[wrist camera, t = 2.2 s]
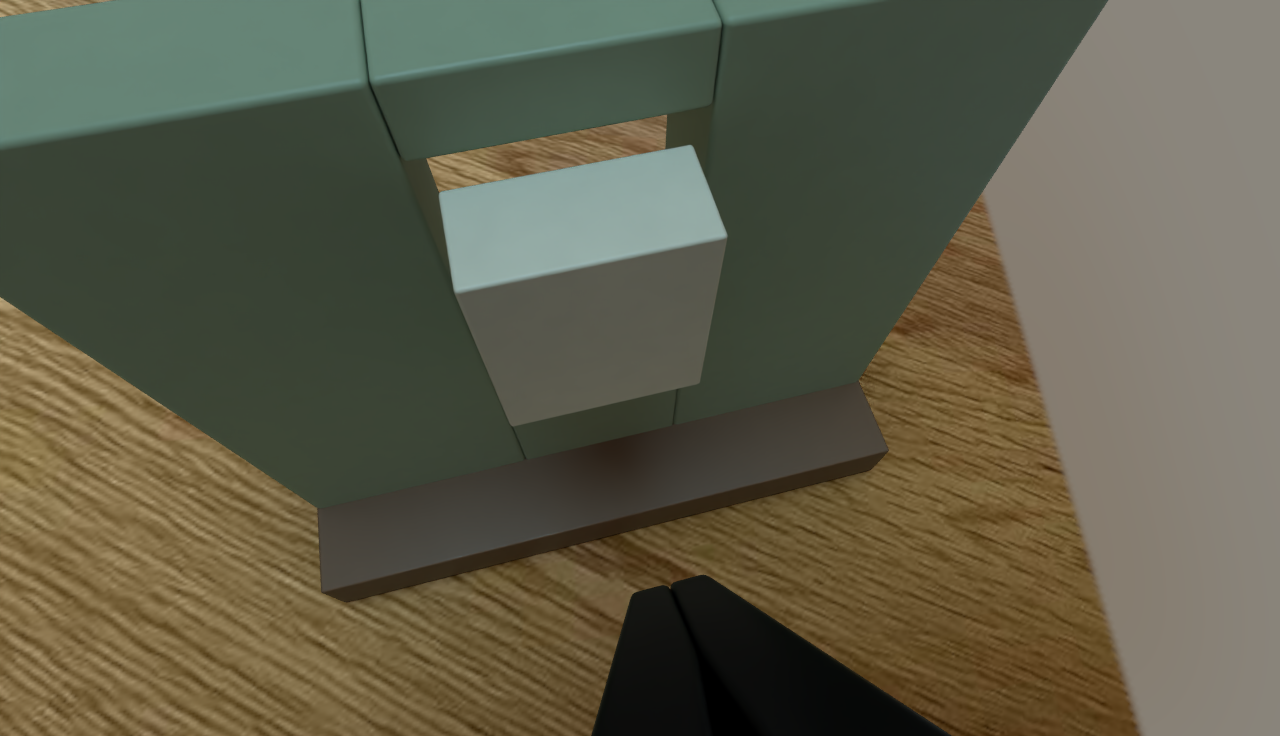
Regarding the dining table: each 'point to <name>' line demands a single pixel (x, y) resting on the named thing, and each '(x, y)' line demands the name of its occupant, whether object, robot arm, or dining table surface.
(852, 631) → the dining table surface
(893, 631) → the dining table surface
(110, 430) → the dining table surface
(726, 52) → the wall plate
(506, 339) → the switch
